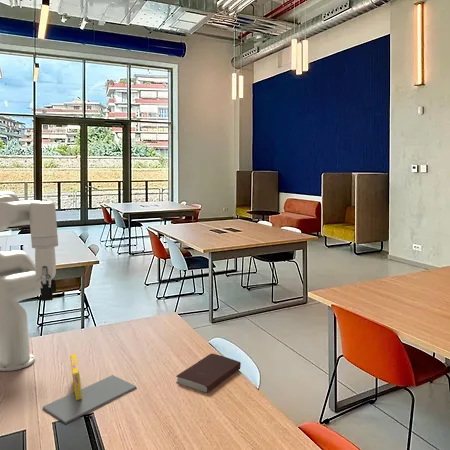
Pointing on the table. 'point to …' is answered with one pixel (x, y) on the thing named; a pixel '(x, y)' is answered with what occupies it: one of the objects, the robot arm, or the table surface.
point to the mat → (89, 398)
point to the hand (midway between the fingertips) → (49, 296)
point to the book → (208, 372)
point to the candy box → (76, 377)
